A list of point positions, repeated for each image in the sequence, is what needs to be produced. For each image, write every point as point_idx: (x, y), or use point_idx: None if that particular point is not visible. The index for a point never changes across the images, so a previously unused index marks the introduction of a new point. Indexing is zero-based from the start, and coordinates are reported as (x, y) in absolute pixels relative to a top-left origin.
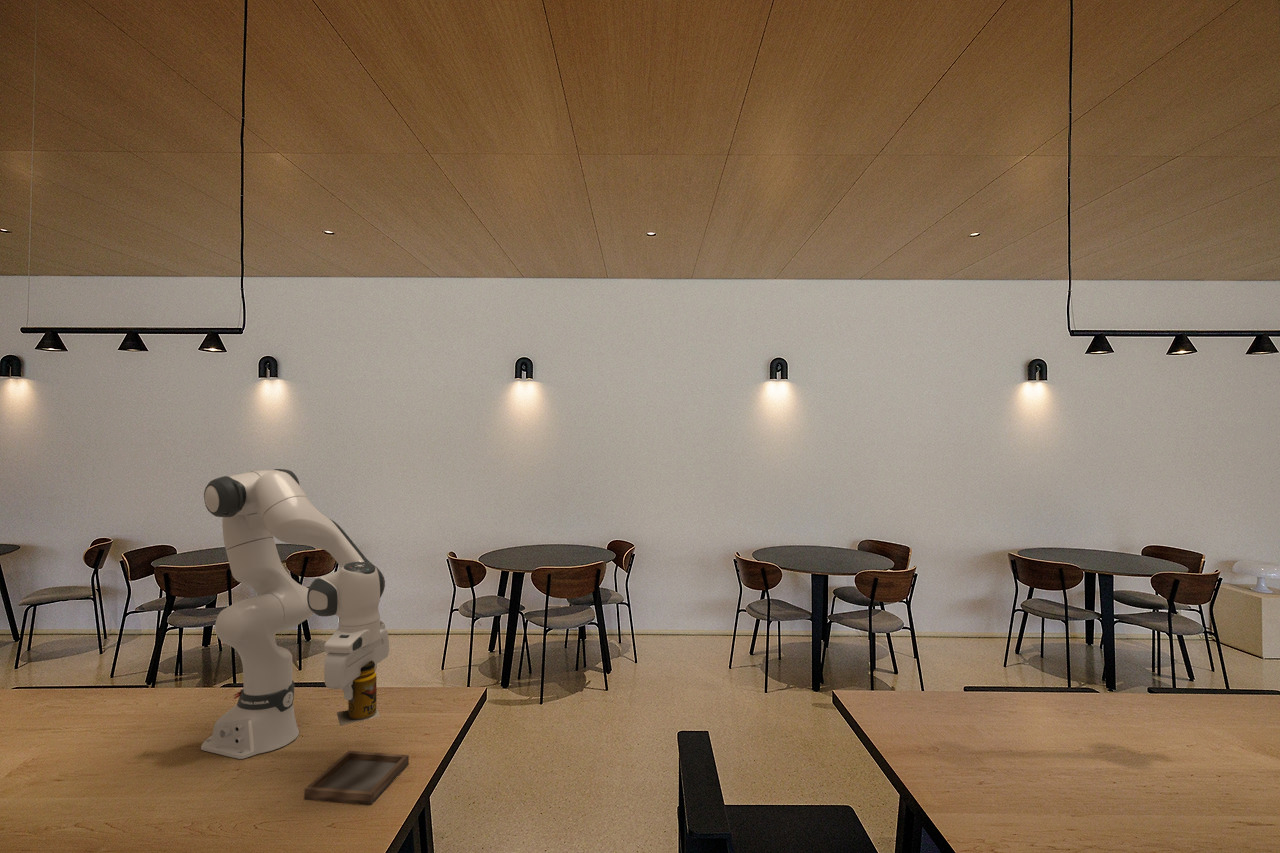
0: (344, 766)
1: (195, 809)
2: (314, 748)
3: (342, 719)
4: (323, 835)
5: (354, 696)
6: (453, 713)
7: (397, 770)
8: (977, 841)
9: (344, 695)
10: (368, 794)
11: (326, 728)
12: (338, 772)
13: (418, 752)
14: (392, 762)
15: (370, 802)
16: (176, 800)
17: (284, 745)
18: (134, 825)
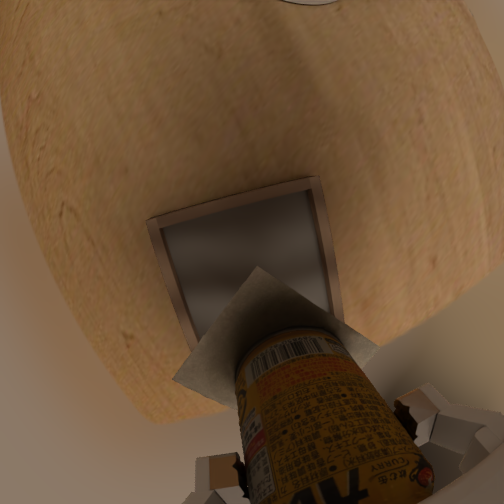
0: (276, 203)
1: (64, 57)
2: (316, 61)
3: (219, 343)
4: (106, 345)
5: (245, 473)
6: (486, 252)
7: None
8: None
9: (195, 475)
10: None
11: (380, 35)
12: (251, 211)
13: (378, 301)
14: (327, 295)
15: None
16: (80, 9)
17: (292, 1)
18: (24, 34)
